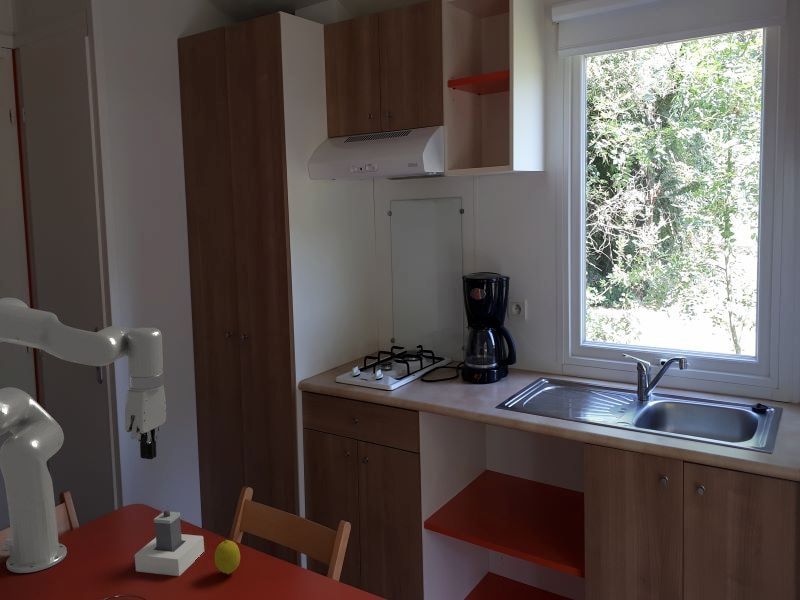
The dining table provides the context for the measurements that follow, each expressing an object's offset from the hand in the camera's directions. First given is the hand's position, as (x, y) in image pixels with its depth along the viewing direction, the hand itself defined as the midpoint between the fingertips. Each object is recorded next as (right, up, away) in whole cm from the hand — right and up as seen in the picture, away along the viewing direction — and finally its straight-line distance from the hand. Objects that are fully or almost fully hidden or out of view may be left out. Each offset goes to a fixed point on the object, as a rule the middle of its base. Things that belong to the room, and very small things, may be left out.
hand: (148, 457), depth 160 cm
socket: (+6, -24, -1) cm, 25 cm away
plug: (+6, -23, -1) cm, 24 cm away
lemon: (+21, -25, -7) cm, 33 cm away
